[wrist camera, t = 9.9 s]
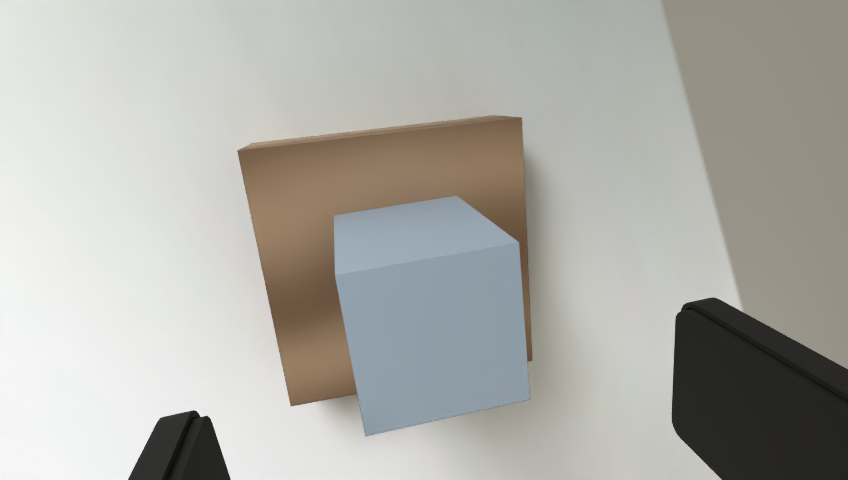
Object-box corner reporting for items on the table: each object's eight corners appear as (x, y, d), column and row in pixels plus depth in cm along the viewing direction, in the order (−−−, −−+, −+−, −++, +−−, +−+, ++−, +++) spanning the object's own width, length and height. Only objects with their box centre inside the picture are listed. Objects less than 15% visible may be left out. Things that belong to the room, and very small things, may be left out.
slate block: (333, 215, 19) (335, 275, 13) (456, 195, 20) (518, 242, 13) (354, 329, 21) (365, 436, 14) (468, 307, 21) (530, 399, 15)
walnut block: (254, 142, 22) (237, 150, 18) (491, 115, 23) (521, 117, 20) (297, 360, 25) (290, 406, 21) (503, 323, 26) (532, 360, 23)
